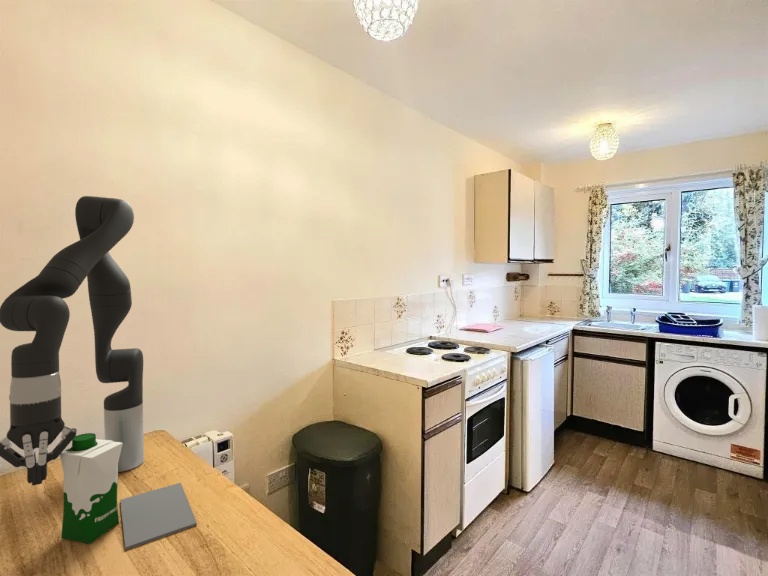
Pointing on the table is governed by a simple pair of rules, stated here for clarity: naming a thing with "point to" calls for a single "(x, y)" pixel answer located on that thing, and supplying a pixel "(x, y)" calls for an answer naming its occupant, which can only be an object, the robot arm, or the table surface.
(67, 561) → the table surface
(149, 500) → the mat
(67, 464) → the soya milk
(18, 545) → the table surface
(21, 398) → the robot arm
